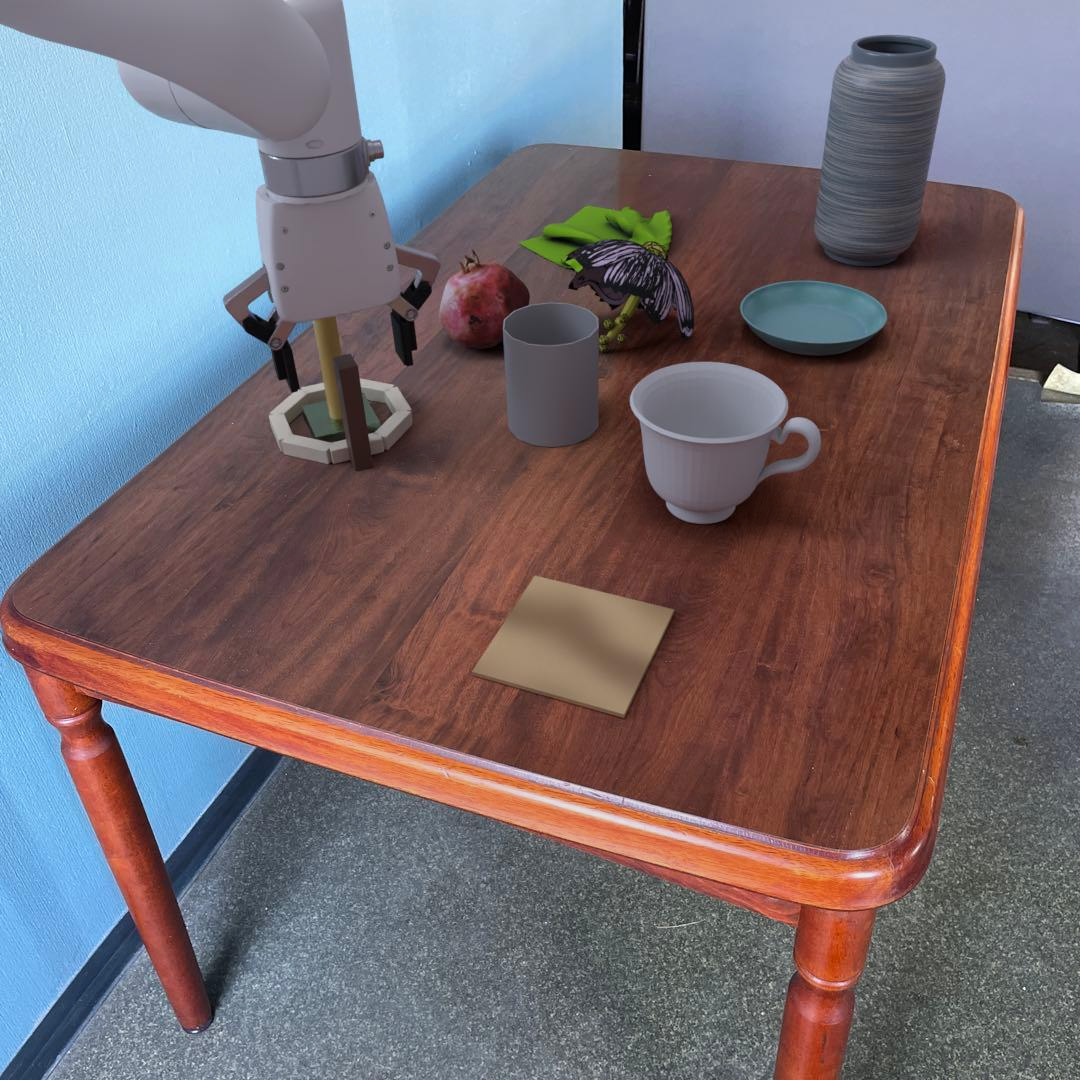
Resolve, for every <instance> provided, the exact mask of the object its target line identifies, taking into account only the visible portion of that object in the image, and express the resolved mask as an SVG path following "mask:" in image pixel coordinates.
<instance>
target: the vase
mask: <svg viewBox="0 0 1080 1080" xmlns="http://www.w3.org/2000/svg"><path fill="white" fill-rule="evenodd" d="M937 51H938V47H937V44H936V43H935V42H933V41H932V40H929V39H926V38H923V37H919V36H911V35H901V34H878V35H876V34H875V35H869V36H864V37H861V38H858V39H856V40H854V41H852V44H851V47H850V54H849V55H847V56H846V57H844V58H843V59H842V60H841V61H840V62H839V64H838V65H837V66H836V69H835V70H834V74H833V78H832V84H831V92H830V99H829V108H828V115H827V121H826V122H827V123H826V130H825V139H824V146H823V154H822V162H821V170H820V175H819V176H820V177H819V185H818V191H817V201H816V206H815V207H816V209H815V215H814V222H813V231H814V235H815V238H816V240H817V241H818V243H819V244H820V246H821V247H822V248H823V252H824V253H825V255H826V256H828V258H830V259H832V260H834V261H835V262H838V263H842V264H845V265H849V266H857V267H877V266H884V265H887V264H890V263H892V262H895V261H896V260H897V259H898V258H899V256H900V255H901V254H903V253H904V252H905V251H906V250H907V249H908V248H910V247H911V245H912V244H913V242H914V241H915V239H916V236H917V232H918V228H919V223H920V218H921V212H922V208H923V201H924V198H925V197H924V196H925V192H926V186H927V181H928V176H929V171H930V165H931V159H932V155H933V154H932V153H933V149H934V145H935V144H934V143H935V139H936V133H937V129H938V123H939V118H940V112H941V107H942V102H943V96H944V92H945V87H946V72H945V68H944V66H943V65H942V63H941V62H940V60H938V59H937V58H936V57H937Z"/></svg>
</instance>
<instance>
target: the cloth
mask: <svg viewBox="0 0 1080 1080" xmlns="http://www.w3.org/2000/svg"><path fill="white" fill-rule="evenodd" d="M672 227H673V224H672V221H671V215H670V213H669V211H668V210H663V211H662V210H661V211H659V212H655V213H654V214H653V216H652V217H649V218H648V217H647V218H646V217H642V215H641V213H640V212H638V211H637V210H634V209H632V208H631V206H630V205H629V206H625V207H623V208H621V210H616V209H612V208H611V209H609V208H604V207H599V206H592V205H586V206H584V207H582V209H580V210H579V211H578V212H576V213H575V214H574V215H573V216H571V217H570V218H568V219H567V220H566V221H565V222H559V223H558V222H557V223H550V224H548V225H546V226H543V230H542V235H539V236H535V237H532V238H529V239H525V240H521V241H519V242H518V244H519V245H521V247H524V248H526V249H528V250H530V251H531V252H533V253H534V254H537V255H539V256H541V258H544V259H546V260H548V261H551V262H552V263H554V264H556V265H558V266H559V267H562V268H565V269H573V270H575V271H576V273H578V272H579V271H580V270H581V269H582V268H583V267H582V265H580V264H579V263H578V262H577V261H576V259H575V258H574V259H571V260H568V261H565V260H566V259H567V257H568V256H566V255H568V254H569V253H571V252H572V251H574V250H576V249H578V248H580V247H583V246H585V245H588V244H590V243H594V242H598V241H602V240H609V239H621V240H628V241H633V242H636V243H638V244H640V245H642V244H644V243H645V242H648V241H652V242H654V241H655V242H657V243H659V244H661V245H662V246H664V247H665V248H666V251H667V252H668V250H670V243H672V235H673V229H672ZM564 261H565V262H564Z"/></svg>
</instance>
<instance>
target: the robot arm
mask: <svg viewBox="0 0 1080 1080" xmlns="http://www.w3.org/2000/svg"><path fill="white" fill-rule="evenodd" d="M0 25H1V26H4V27H7V28H10V29H13V30H15V31H16V32H19V33H22V34H25V35H28V36H31V37H33V38H37V39H41V40H44V41H47V42H52V43H54V44H59V45H62V46H65V47H70V48H73V49H78V50H81V51H85V52H89V53H93V54H96V55H100V56H104V57H106V58H110V59H113V60H116V66H117V67H116V68H117V72H118V75H119V78H120V80H121V82H122V84H123V86H124V87H125V89H126V91H127V92H128V94H129V95H130V97H132V98H133V100H134V101H135V102H136V103H137V104H139V106H140V107H142V108H143V109H145V110H146V111H148V112H150V113H151V114H153V115H155V116H157V117H159V118H162V119H164V120H167V121H170V122H172V123H173V122H174V123H177V124H183V125H187V126H192V127H196V128H201V129H206V130H211V131H212V130H213V131H218V132H224V133H228V134H233V135H239V136H243V137H247V138H251V139H254V140H255V139H256V144H257V149H258V155H259V158H260V165H261V169H262V175H263V179H264V184H261V185H259V186H257V188H256V190H255V217H256V218H255V219H256V230H257V239H258V244H259V245H258V246H259V252H260V259H261V267H260V268H259V269H257V270H256V271H255V272H254V273H252V274H251V275H250V276H248V277H247V278H246V279H245V280H243V281H242V282H240V283H239V284H238V285H237V286H235V287H234V288H232V289H231V290H230V291H228V293H226V294H225V295H224V296H223V297H222V303H223V306H224V308H225V310H226V312H228V314H229V315H230V316H231V317H232V318H233V319H234V320H235V322H237V324H239V326H241V327H242V328H243V330H244V331H245V333H247V335H249V336H251V337H253V338H255V339H257V340H258V341H260V342H262V343H263V344H265V345H267V346H268V347H269V349H270V352H271V357H272V362H273V367H274V371H275V375H276V378H277V380H278V381H284V380H285V381H286V384H287V386H288V388H289V390H290V392H291V394H292V393H293V392H297V391H298V390H301V386H300V382H299V378H298V373H297V367H296V362H295V358H294V352H293V349H292V347H291V345H290V342H289V340H288V339H289V337H290V336H291V334H292V332H293V330H294V329H295V327H296V326H297V324H303V323H310V322H313V321H315V320H320V319H325V318H330V317H334V316H336V317H338V316H344V315H348V314H352V313H358V312H363V311H367V310H371V309H376V308H380V307H384V306H386V305H387V306H388V307H389V308H391V312H390V313H389V315H390V322H391V323H390V324H391V330H392V337H393V344H394V350H395V354H396V355H397V356H398V358H399V360H400V361H401V363H402V364H403V366H406V367H410V366H411V367H412V366H414V358H413V352H414V351H417V350H418V343H417V342H418V340H417V334H416V333H417V332H416V325H415V324H416V323H415V320H417V319H418V317H419V311H420V309H421V308H422V307H423V306H424V304H425V303H426V302H427V301H428V299H429V298H430V296H431V295H432V292H433V289H432V288H433V285H434V284H435V282H436V279H437V277H438V274H439V272H440V268H441V261H440V260H439V259H438V258H437V256H436V255H435V254H434V253H430V252H427V251H423V250H420V249H416V248H413V247H410V246H407V245H403V244H400V243H397V242H395V241H394V235H393V232H392V228H391V224H390V218H389V215H388V212H387V208H386V205H385V200H384V198H383V194H382V192H381V188H380V186H379V183H378V180H377V178H376V176H375V173H374V172H373V171H371V170H370V168H369V167H371V163H374V162H375V161H376V160H381V159H384V158H385V151H384V146H383V145H384V144H383V143H382V141H381V139H376V140H375V139H374V140H371V139H366V138H365V137H364V136H363V132H362V126H361V119H360V113H359V106H358V98H357V91H356V85H355V77H354V71H353V62H352V55H351V49H350V41H349V40H350V39H349V34H348V27H347V19H346V12H345V6H344V1H343V0H0ZM399 265H402V266H405V267H409V268H412V269H416V271H417V272H416V276H415V278H414V279H413V280H411V282H410V283H409V285H408V286H407V287H406V289H405V290H404V291H402V280H401V273H400V266H399ZM266 292H267V295H268V298H269V300H270V301H269V302H271V304H274V306H273V307H272V309H271V311H270V313H269V315H268V316H267V318H266V319H264V318H263V317H261V316H259V315H257V314H256V313H254V312H252V310H251V309H249V305H250V304H252V303H253V302H254V301H255V300H257V299H259V298H260V297H261V296H262V295H263V294H265V293H266Z"/></svg>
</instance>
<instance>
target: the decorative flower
mask: <svg viewBox="0 0 1080 1080" xmlns="http://www.w3.org/2000/svg"><path fill="white" fill-rule="evenodd" d="M566 256H568V257H567V259H566V260H565V261H568V260H571V259H574V258H575V259H576V261H577V262H578V263H579V264H580V265H582V267H583V268H582V269H581V270H580V271H579V272H576V274H575V275H574V276H573V278H572V279H571V280H570V282H569V284H568V286H567V290H573V291H578V290H579V289H581V288H583V287H587V286H589V288H590V290H592V291H594V292H595V293H594V296H596V297H597V298H598V297H599V300H598V301H599V302H601V303H602V302H603V303H607V305H608V307H610V311H611V312H613V311H615V310H616V309H617V308H619V307H620V306H622V305H623V304H624V303H625V305H624V306H623V309H622V310H621V312H620V314H619V316H616V317H615V319H614V320H613V319H610V318H609V319H608V318H607V319H605V320H604V322H603V326H604V328H605V330H609V331H608V333H607V334H601V335H599V351H600V352H601V353H607V352H609V349H610V345H609V342H610V341H612V340H613V339H614V338H615V337H616V341H617V343H618V344H619V345H623V344H625V343H627V341H628V336H627V334H626V333H620V332H621V331H623V329H624V328H625V327H626V326H627V324H628V322H629V321H630V319H631V317H632V316H633V314H634V313H635V311H636V310H638V311H639V310H643V314H644V315H645V316H646V317H647V318H649V320H650V321H651V322H652V323H653V324H654V325H655V326H659V325H661V324H662V323H664V322H665V321H666V319H667V318H668V316H669V314H670V311H671V309H672V308H673V309H674V311H676V317H677V324H678V331H679V335H680V337H681V339H682V341H684V340H689V339H691V338H692V334H693V333H692V332H693V331H694V328H695V310H694V309H695V308H694V303H693V297H692V294H691V291H690V288H689V286H688V284H687V281H686V279H685V278H684V276H683V274H682V273H681V271H680V270H679V269H678V268H677V267H676V266H675V265H674V264H673V263H672V262H670V261H669V254H668V250H667V251H666V248H665V247H664V246H662V245H661V244H659V243H657V242H655V241H654V242H652V241H648V242H645V243H644V244H642V245H640V244H638V243H636V242H633V241H628V240H621V239H609V240H602V241H598V242H594V243H590V244H588V245H585V246H583V247H580V248H578V249H576V250H574V251H572V252H571V253H569V254H568V255H566ZM565 261H564V262H565Z"/></svg>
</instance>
